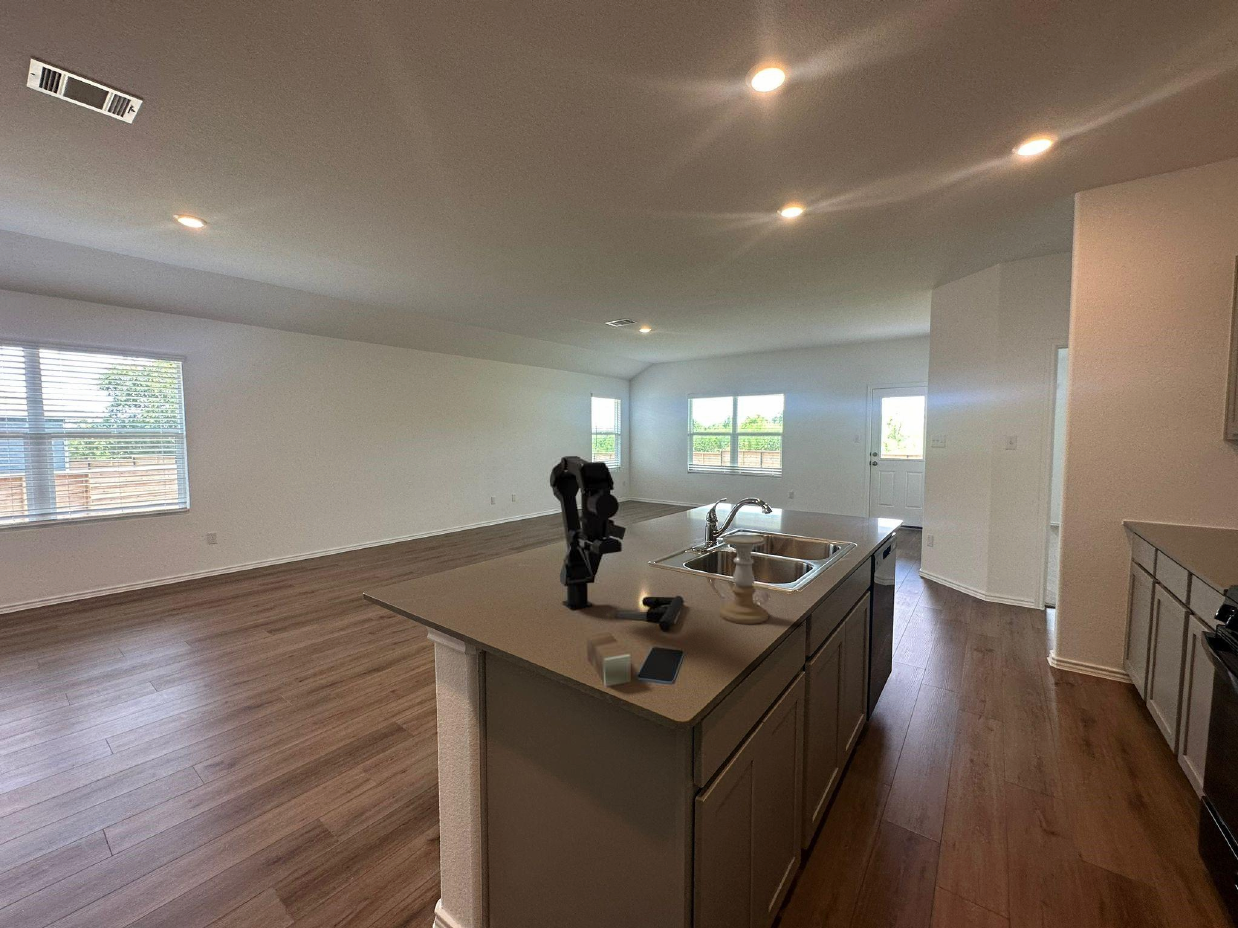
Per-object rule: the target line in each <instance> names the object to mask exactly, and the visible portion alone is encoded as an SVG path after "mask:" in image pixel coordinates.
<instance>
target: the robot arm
mask: <svg viewBox="0 0 1238 928" xmlns="http://www.w3.org/2000/svg"><path fill="white" fill-rule="evenodd" d="M614 484H615V482H614V479H613V477H612V474H611V471H610V470H609V467H608V465H607V464H606V463H605V461H595V462H594V461H593V462H589V461H587V460H585V459H583V458H581V457H580V456H578V455H570V456H569V455H567V456H562V457H561V460H560V462H559V463H557V464H556V465H555V466H554V467H552V468H551V473H550V476H549V485H550V488H551V489H552V492H553V494H552V495H553V496H555V498H556V499H557V500H558V501H559V503H560V507H561V508H560V509H561V515H562V523H563V528H564V535H565V540H566V548H567V549H566V550H567V551H566V554H565V555H564V558H563V562H562V563H563V564H562V567H561V570H560V573H559V580H560V581H559V582H560V583H561V584H562V585H563V586H564V587H566V600H563V601H562V605H564V606H566V607H567V608H569V609H570V610H577V609H582V608H586V607H587V608H588V607H592V606H593V602H591V601H589V600H588V599H589V598H588V597H589V596H588V595H589V593H588V590H589V589H588V588H589V587H588V584H594V583H595V581H596V576H597V573H598V571H599V567H600V563H601V561H602V559H603V558H602V557H603V556H604V555H608V554H614V553H620V552H621V553H622V551H623V547H622V546H623V543H622V542H621V540H624V538H625V537H624V536H625V533H626V530H627V527H624V526H620V525H618V524H615V521H614V520H613V519H611V518H613V517H615V515H617V513H618V511H619V507H620V505H619V501H618V499H617V497H616V496H614V495H613V494H611V491H614V490H615V489H614V486H615V485H614ZM579 490H580V491H579ZM579 492H580V493H581V495H580V497H581V498H580V500H581V501H580V503H581V507H580V508H581V509H580V510H581V513H580V512H579V508H578V503H577V494H578V493H579ZM579 513H580V514H579ZM613 537H614V538H613Z"/></svg>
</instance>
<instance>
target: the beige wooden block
mask: <svg viewBox="0 0 1238 928" xmlns="http://www.w3.org/2000/svg"><path fill="white" fill-rule="evenodd" d="M586 642H587V643H586V645H587V646H586V647H587V648H586V649H587V650H586V653H587V655H586V656H587V662H588V663H589V664H590V666H591V667H592V669H593V670H594V671H595V674H597V676H598V678H599V679H600V680H601V682H602V684H603V685H604V686H605V687H610V686H615V685H619V684H620V685H621V684H625V683H631V681H632V680H631V677H632V676H631V674H632V673H631V672H632V671H631V668H632V667H631V655H630V654H629V652H628V651H626V649H625V648H624V647H623V646H622V645H621V644H620V643H619V642H618V640H617V639H616V638H615V637H614V636H613V635H612V633H611V632H607V633H602V634H601V633H600V634H599V633H598V634H594V635H587V636H586Z"/></svg>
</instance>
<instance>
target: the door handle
mask: <svg viewBox="0 0 1238 928" xmlns="http://www.w3.org/2000/svg"><path fill="white" fill-rule="evenodd" d="M684 603H686V601H684V598H683V597H682V596H680V595H675V596H674V597H671V596H669V597H668V596H667V597H666V596H644V597H643V598H642V605H643V606H644V607H649V608H648V609H647V610H646V611H640V610H639V611H638V610H637V611H636V610H633V611H632V610H618V612H617V613H616V614H617V615H616V616H617V619H624V620H634V621H646V622H647V623H654V624H655V623H657V624H659V625H658V626H659V628H660V630H661V631H663V632H667V631H668V630H670V629H671V627H673V625H676V622H677V620H678V618H679V616H680V614H681V609H682V607H683V606H684ZM658 607H659V608H658Z"/></svg>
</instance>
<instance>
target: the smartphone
mask: <svg viewBox="0 0 1238 928" xmlns="http://www.w3.org/2000/svg"><path fill="white" fill-rule="evenodd" d="M684 655H685V651H684V650H682V649H677V648H676V649H675V648H666V647H658V646H657V647H651V648H650V651H649V652H648V655H647V656H646V658H645V660H644V661H643V663H642V665H641V667H640V669H639V670H638V673H637V675H636V679H637V680H639V681H641V682H642V681H643V682H651V683H657V684H665V685H670V684H673V683H674V682H675V680H676V677H677V675H678V672H679V670H680V667H681V664H682V661H683V659H684Z"/></svg>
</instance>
